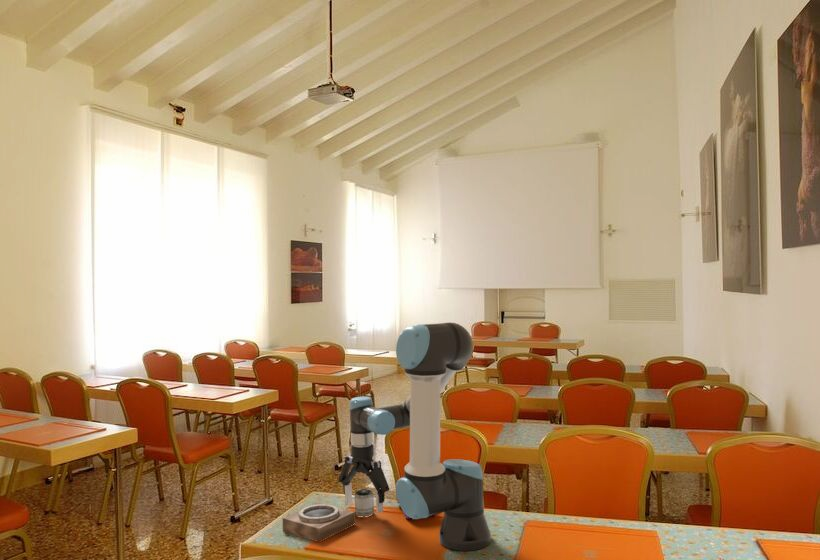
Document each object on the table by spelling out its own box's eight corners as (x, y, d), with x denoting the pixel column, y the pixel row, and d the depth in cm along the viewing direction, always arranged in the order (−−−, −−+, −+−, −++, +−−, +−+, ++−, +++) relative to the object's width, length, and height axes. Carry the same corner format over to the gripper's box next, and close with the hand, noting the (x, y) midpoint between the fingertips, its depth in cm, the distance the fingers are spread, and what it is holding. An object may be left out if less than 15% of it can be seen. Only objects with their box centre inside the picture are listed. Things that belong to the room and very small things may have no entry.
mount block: (355, 524, 201) (354, 508, 201) (319, 542, 188) (318, 524, 188) (319, 514, 210) (318, 499, 210) (282, 530, 197) (282, 514, 197)
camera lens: (375, 511, 212) (374, 488, 212) (371, 518, 205) (371, 494, 205) (357, 511, 213) (356, 487, 213) (353, 518, 206) (352, 494, 206)
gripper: (398, 446, 205) (400, 512, 205) (342, 436, 219) (343, 497, 220) (384, 452, 199) (386, 519, 199) (327, 441, 213) (328, 504, 214)
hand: (363, 508), depth 209 cm, fingers open, 13 cm apart
